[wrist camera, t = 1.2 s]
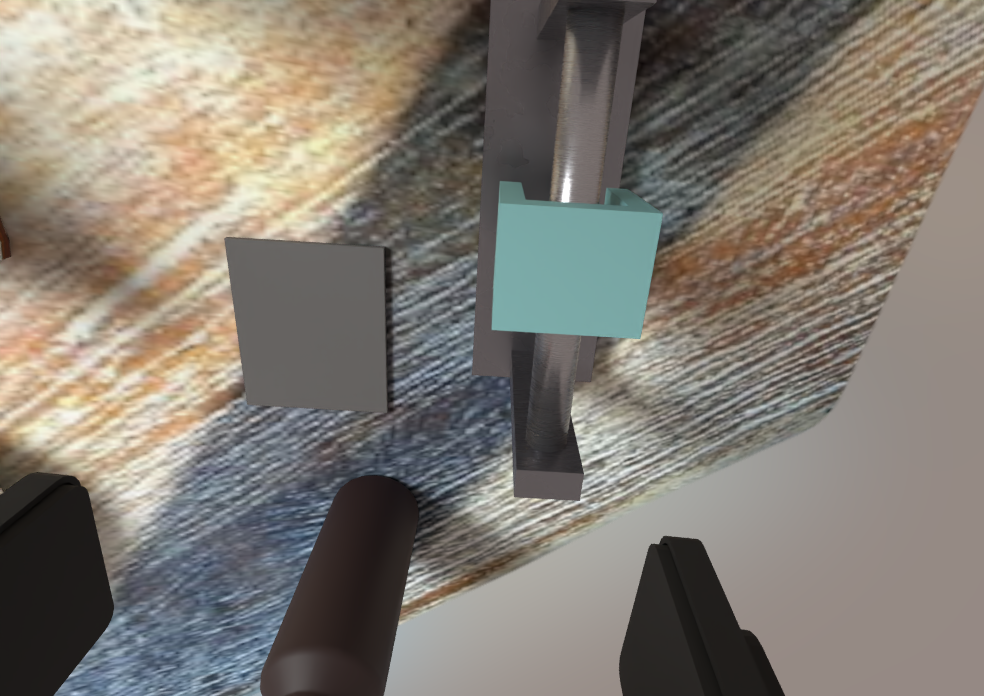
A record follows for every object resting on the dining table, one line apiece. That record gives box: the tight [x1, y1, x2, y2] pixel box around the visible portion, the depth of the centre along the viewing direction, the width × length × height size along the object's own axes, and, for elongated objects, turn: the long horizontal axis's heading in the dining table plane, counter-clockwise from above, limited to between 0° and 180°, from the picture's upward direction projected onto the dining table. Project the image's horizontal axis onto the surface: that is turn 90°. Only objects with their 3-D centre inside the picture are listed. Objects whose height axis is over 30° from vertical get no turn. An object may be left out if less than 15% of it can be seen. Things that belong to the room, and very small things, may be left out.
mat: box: [224, 237, 388, 413], centre depth 38 cm, size 12×10×1 cm
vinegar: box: [260, 475, 419, 696], centre depth 35 cm, size 7×7×20 cm
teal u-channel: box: [492, 181, 663, 339], centre depth 24 cm, size 5×6×6 cm
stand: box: [472, 0, 657, 501], centre depth 28 cm, size 22×8×14 cm, turn 177°
